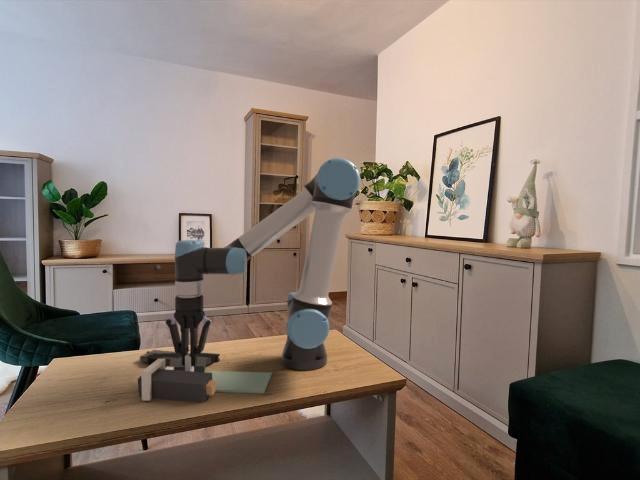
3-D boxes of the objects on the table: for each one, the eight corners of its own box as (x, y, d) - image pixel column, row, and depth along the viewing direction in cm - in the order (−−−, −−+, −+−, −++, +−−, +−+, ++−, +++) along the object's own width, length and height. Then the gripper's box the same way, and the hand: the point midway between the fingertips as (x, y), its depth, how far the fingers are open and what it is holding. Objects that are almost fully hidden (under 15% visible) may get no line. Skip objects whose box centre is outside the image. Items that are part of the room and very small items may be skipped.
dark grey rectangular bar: (218, 390, 97) (217, 373, 96) (210, 403, 92) (209, 384, 91) (151, 385, 99) (149, 368, 98) (139, 397, 94) (137, 379, 93)
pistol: (197, 370, 104) (222, 353, 119) (120, 362, 109) (152, 348, 124) (197, 377, 104) (221, 360, 119) (120, 370, 109) (152, 354, 124)
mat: (271, 374, 109) (271, 372, 109) (264, 393, 97) (264, 391, 97) (186, 372, 110) (186, 370, 110) (168, 390, 98) (168, 388, 98)
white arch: (173, 377, 106) (173, 352, 105) (149, 400, 92) (149, 372, 91) (167, 376, 106) (166, 351, 105) (141, 400, 92) (141, 371, 91)
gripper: (216, 292, 106) (216, 372, 107) (172, 291, 106) (172, 370, 107) (207, 298, 98) (207, 383, 99) (160, 297, 98) (160, 381, 100)
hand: (189, 376), depth 103 cm, fingers closed
